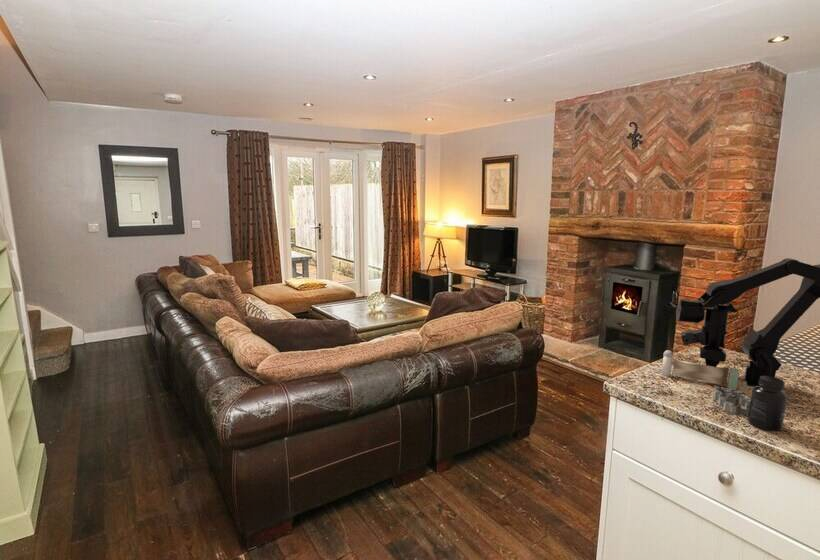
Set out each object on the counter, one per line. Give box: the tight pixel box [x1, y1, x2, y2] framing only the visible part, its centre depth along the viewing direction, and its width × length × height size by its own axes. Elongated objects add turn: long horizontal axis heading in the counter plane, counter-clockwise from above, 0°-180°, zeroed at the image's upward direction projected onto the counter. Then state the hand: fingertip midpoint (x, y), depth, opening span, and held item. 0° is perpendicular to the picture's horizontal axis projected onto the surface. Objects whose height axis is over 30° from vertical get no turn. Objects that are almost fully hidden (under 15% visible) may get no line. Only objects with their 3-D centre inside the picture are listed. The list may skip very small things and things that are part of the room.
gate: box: [672, 359, 730, 386], centre depth 138 cm, size 14×2×5 cm, turn 56°
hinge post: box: [661, 349, 674, 377], centre depth 143 cm, size 3×3×8 cm
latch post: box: [727, 367, 740, 391], centre depth 134 cm, size 2×4×5 cm, turn 147°
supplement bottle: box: [747, 376, 788, 432], centre depth 112 cm, size 7×7×12 cm
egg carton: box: [712, 385, 751, 416], centre depth 123 cm, size 11×8×4 cm
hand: (708, 373), depth 141 cm, fingers closed
